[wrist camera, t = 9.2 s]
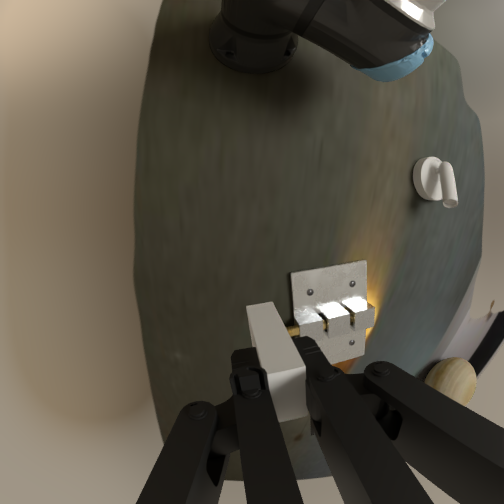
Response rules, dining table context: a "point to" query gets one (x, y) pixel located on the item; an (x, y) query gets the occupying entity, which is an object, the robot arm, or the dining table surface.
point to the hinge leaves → (333, 308)
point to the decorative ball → (453, 379)
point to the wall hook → (435, 181)
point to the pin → (295, 329)
